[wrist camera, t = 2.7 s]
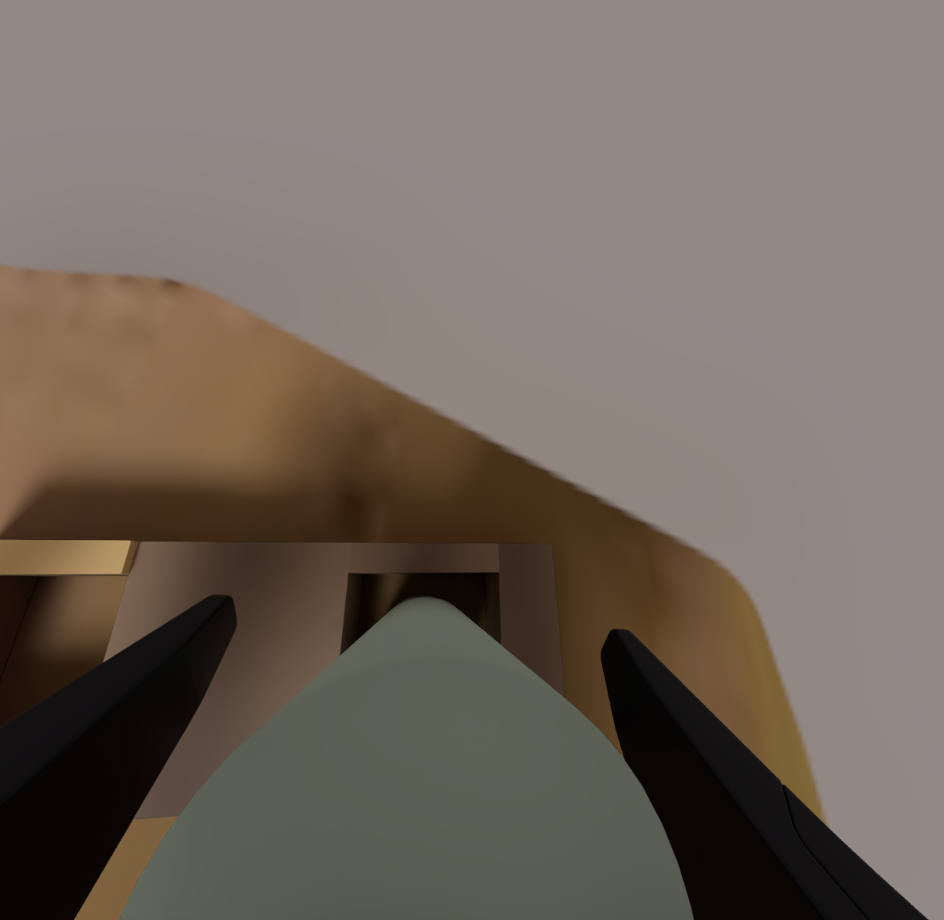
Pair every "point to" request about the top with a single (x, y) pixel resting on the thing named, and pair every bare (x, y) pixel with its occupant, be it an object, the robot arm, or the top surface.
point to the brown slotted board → (276, 618)
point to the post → (418, 799)
